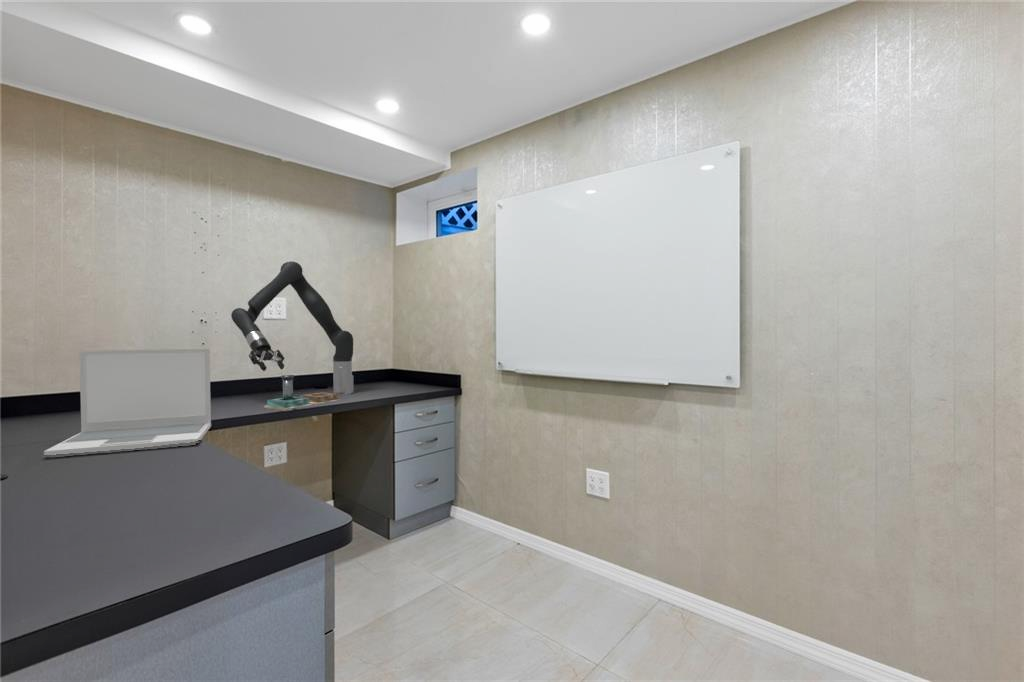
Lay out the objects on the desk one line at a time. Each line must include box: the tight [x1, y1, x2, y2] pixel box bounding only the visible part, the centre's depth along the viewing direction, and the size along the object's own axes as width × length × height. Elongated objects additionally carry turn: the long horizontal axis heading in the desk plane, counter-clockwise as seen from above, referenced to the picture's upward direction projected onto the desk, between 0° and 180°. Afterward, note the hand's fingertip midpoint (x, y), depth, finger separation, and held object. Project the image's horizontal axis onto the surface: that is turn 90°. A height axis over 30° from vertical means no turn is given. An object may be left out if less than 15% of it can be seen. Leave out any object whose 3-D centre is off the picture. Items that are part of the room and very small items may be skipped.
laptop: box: [43, 348, 212, 456], centre depth 147 cm, size 35×26×28 cm
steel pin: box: [281, 374, 295, 401], centre depth 210 cm, size 5×5×13 cm
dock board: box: [263, 391, 342, 412], centre depth 217 cm, size 29×15×4 cm, turn 150°
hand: (274, 368), depth 214 cm, fingers open, 8 cm apart
